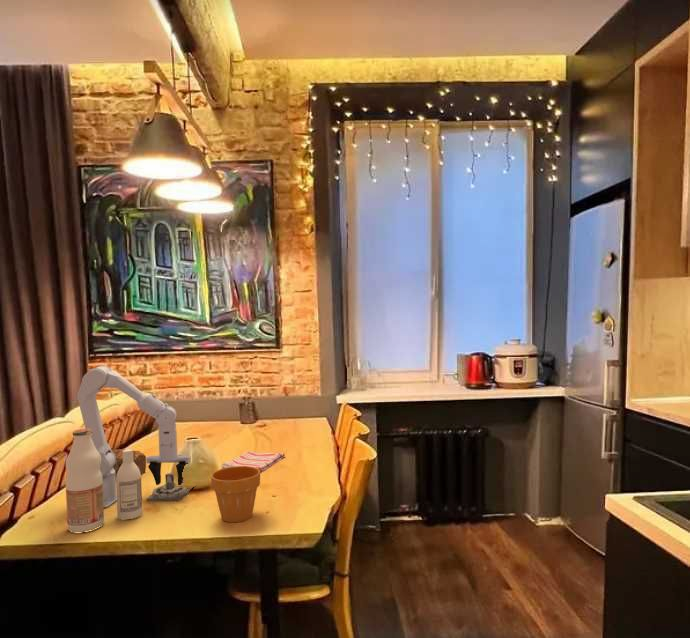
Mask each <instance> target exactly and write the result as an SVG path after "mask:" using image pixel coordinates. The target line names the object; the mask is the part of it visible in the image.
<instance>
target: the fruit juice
mask: <svg viewBox="0 0 690 638" xmlns="http://www.w3.org/2000/svg"><path fill="white" fill-rule="evenodd" d="M91 435H92V429H85V428H80V429H76V430H73V431H72V437H73V438H74V439H73V442H72V446H71V448H70V452H69V454H68V455H67V457H66V459H65V468H66V471H67V476H66V479H65V493H66V494H65V497H66V498H65V499H66V522H67V523H66V524H67V530H69V531H72V532H85V531H89V530H93V529H95V528H97V527H99V526H101V525H102V524H103V525H104V523H105V515H104V514H105V513H104V511H105V509H104V508H105V507H103V480H102V473H101V471H100V464H101V456H100V453H99V452H98V451H97V449H96V447H95V445H94V443H93V441H92V438H91ZM103 525H102V526H103ZM102 526H101V527H102ZM69 531H68V532H69Z"/></svg>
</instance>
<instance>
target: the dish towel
mask: <svg viewBox="0 0 690 638" xmlns="http://www.w3.org/2000/svg"><path fill="white" fill-rule="evenodd" d="M285 456H286V454H285V452H283V453H282V452H277V453H276V452H255V451H247V452H244V453H242V454H241V455H240V456H238V457H236V458H233V459H230V460H228V461H224V462H222V464H221V469H223V468H228V467H235V466H249V467H255V468H257V469H259V470H260V473H262V472H264V471H266V470H268V469H269V468H270V467H272V466H274V465H275V464H276V463H278V462H280V461H281V460H282V459H283V458H285Z"/></svg>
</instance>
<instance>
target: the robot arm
mask: <svg viewBox="0 0 690 638" xmlns="http://www.w3.org/2000/svg"><path fill="white" fill-rule="evenodd" d="M103 387H105V388H106V389H107V388H108V389H109V388H110V389H117V390H119V391H120V392H122V393H123V394H125V395H126V396H128V397H130V398H131V399H133V400H134V401H136V403H137V408H139V409H140V410H142V411H143V412H145V414H146V415H148V416H150V417H152V418H153V419H156V422H157V424H158V455H148V456H146V464H149V465H147V468H148V469H149V471H150V473H151V474H152V476H153V478H154V482H155V485H156V486H160V484H161V483H162V476H161V473H162V464H163V463H173V464H174V463H177V464H176V465H175V469H176V473H177V477H178V485H181V484H182V483H184V478H183V477H182V472H183V469H184V466H185V465H186V464H188V463H191V461H192V460H191V457H192V456H191V455H185V454H184V455H182V454H178V435H177V433H178V431H177V423H176V419H177V415H178V414H177V410H176V409H175V408H174V407H173V406H171V405H169V404H168V403H167V402H165V403H164V402H163V401H161V400H160V399H158V397H157V395H156V393H153V394H152V393H151V392H146V393H144V392H143V391H141V390H140V389H139V388H138V387H137V386H135V385H134V384H132V383H131V382H130V381H128V379H126V378H125V377H124V376H123V375H122V374H120V373H119V372H117V371H115V370H113V369H111V368H110V367H109V366H107V365H99V366H97V367H93V368H91V369H89V370H88V371H87V372H86V373H85V374H84V375H83V376H82V379H81V383H80V387H79V389H78V392H77V395H76V397H77V401H78V406H79V408H80V413H81V417H82V421H83V425H84V429H92V435H91V438H92V441H93V443H94V445H95V447H96V449H97V451H98V452H99V453H100V456H101V464H100V471H101V473H102V480H103V508H108V507H110V506H111V505H113V504H114V503H115V502H117V491H116V476H115V470H114V468H113V466H114V465H115V463H116V456H115V454H114V453H113V452H112V451H111V450H112V449H111V445H110V444H109V443H108V442H107V438H106V434H105V430H104V426H103V421H102V417H101V414H100V409H99V406H98V402H97V398H96V397H97V396H98V394H99V392H100V391H101V390H102V389H103ZM188 465H189V464H188Z"/></svg>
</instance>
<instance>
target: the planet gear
mask: <svg viewBox="0 0 690 638" xmlns="http://www.w3.org/2000/svg"><path fill="white" fill-rule="evenodd" d="M173 473H174V472H169V473H168V472H167V473H166V474H165V477H164V478H165V484H166V486H164V487H162V488H160V489H159V493H160V494H169V493H174V492H178V491H180V490H181V487H180V486H178V485H175V483H174V479H175V473H174V474H173Z"/></svg>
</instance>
